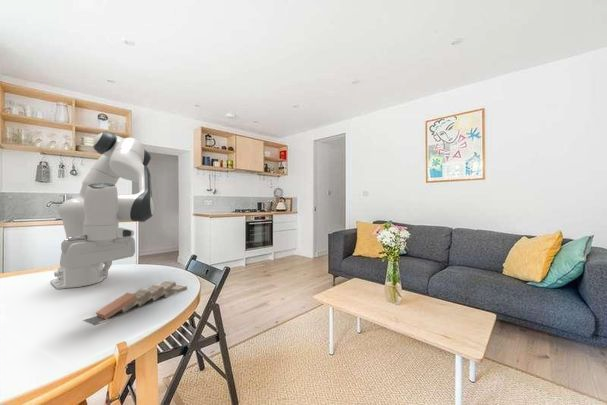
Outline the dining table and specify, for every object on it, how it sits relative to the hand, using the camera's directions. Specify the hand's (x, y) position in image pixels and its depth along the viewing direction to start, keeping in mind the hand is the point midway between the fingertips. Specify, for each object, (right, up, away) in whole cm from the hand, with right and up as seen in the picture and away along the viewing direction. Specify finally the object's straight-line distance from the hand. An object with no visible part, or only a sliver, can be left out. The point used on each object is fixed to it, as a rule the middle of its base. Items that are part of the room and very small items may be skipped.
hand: (101, 276), depth 82 cm
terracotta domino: (0, -12, -1) cm, 12 cm away
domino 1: (+2, -12, +4) cm, 13 cm away
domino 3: (+7, -12, +13) cm, 19 cm away
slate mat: (+4, -14, +7) cm, 16 cm away
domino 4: (+9, -12, +18) cm, 23 cm away
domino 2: (+5, -12, +9) cm, 16 cm away
